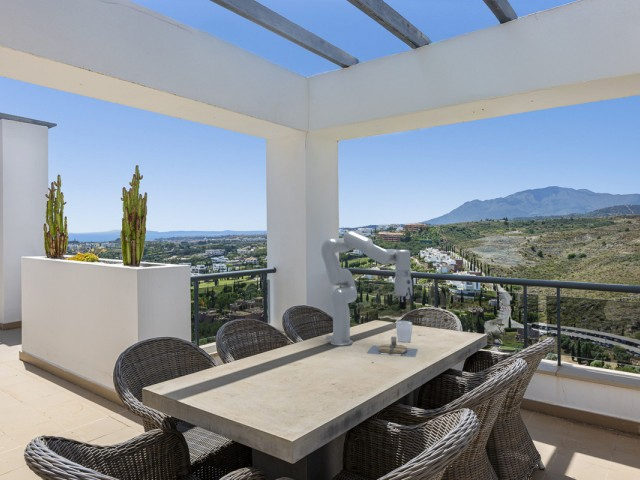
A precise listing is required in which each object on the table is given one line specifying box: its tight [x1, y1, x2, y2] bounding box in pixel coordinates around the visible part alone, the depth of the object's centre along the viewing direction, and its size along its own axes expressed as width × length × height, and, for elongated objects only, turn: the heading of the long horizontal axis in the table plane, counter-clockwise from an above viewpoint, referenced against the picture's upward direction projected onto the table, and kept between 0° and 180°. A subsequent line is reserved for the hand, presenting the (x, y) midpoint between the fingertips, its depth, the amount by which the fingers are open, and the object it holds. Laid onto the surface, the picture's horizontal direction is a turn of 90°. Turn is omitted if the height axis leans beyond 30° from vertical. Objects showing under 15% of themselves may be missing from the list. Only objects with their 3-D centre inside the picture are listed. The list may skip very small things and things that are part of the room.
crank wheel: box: [378, 336, 408, 354], centre depth 219 cm, size 15×14×6 cm
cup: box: [395, 320, 413, 343], centre depth 243 cm, size 9×9×12 cm
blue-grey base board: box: [366, 345, 419, 358], centre depth 220 cm, size 24×17×2 cm
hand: (402, 309), depth 221 cm, fingers closed
